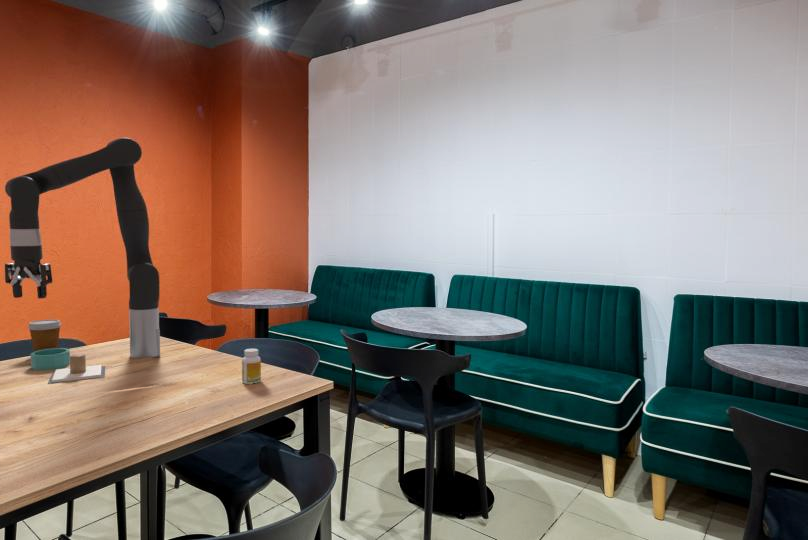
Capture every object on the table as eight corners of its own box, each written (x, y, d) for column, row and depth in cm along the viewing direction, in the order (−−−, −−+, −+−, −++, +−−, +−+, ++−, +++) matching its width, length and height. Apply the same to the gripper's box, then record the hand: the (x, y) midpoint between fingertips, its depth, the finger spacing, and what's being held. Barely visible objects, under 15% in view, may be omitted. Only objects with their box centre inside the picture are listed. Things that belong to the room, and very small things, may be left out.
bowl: (71, 361, 166) (70, 346, 166) (68, 369, 158) (68, 353, 157) (34, 365, 161) (33, 350, 161) (29, 373, 153) (29, 357, 152)
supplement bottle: (264, 380, 150) (264, 349, 149) (252, 385, 145) (252, 353, 144) (250, 378, 152) (250, 347, 152) (238, 382, 148) (237, 350, 147)
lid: (101, 367, 159) (101, 349, 158) (100, 377, 149) (100, 358, 148) (56, 371, 153) (55, 353, 152) (52, 382, 143) (51, 363, 142)
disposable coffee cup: (49, 359, 169) (48, 324, 168) (22, 358, 169) (20, 323, 168) (68, 352, 178) (67, 319, 177) (42, 351, 178) (41, 318, 177)
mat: (105, 367, 160) (105, 365, 160) (104, 379, 148) (104, 377, 148) (52, 373, 153) (52, 371, 153) (47, 385, 141) (47, 384, 141)
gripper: (57, 243, 151) (60, 296, 152) (17, 243, 153) (21, 295, 155) (34, 245, 143) (38, 300, 145) (-7, 244, 146) (-2, 299, 147)
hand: (30, 297), depth 150 cm, fingers open, 8 cm apart
